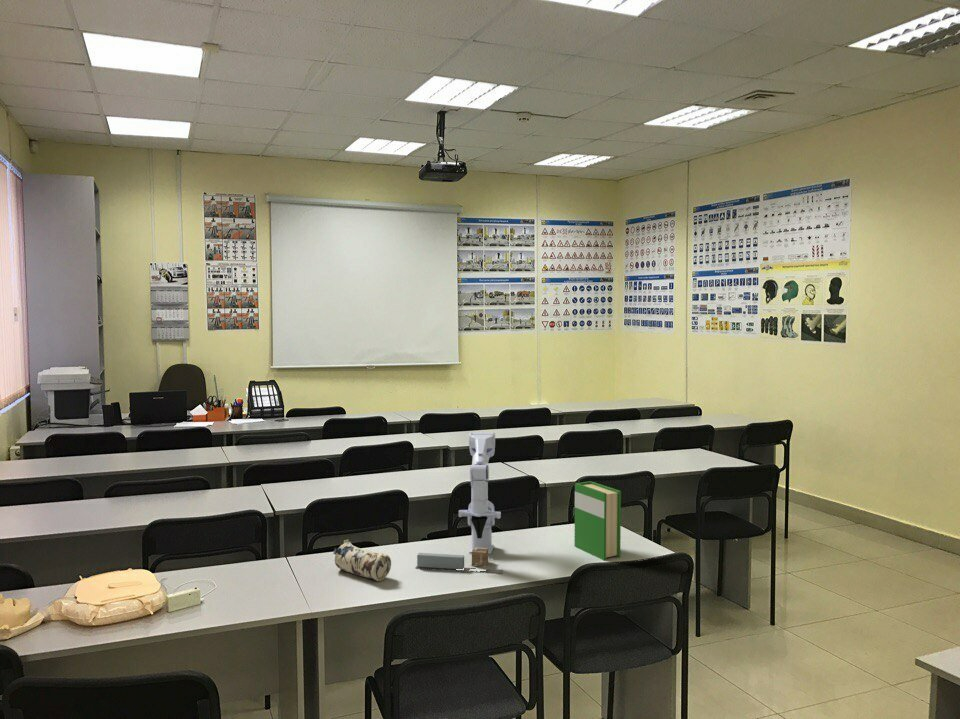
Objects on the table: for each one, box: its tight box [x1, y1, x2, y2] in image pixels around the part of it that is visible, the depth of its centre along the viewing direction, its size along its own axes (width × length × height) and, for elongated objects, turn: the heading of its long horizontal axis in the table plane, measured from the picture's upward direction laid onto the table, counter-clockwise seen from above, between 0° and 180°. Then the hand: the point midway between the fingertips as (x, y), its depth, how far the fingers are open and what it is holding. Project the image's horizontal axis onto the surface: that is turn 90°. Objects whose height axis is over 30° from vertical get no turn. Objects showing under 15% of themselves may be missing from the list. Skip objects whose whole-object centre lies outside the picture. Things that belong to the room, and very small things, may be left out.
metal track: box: [415, 565, 504, 575], centre depth 246 cm, size 3×30×1 cm, turn 80°
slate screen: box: [416, 552, 465, 569], centre depth 247 cm, size 2×16×4 cm, turn 80°
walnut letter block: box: [471, 547, 489, 567], centre depth 252 cm, size 5×5×5 cm
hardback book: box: [574, 480, 622, 561], centre depth 264 cm, size 18×7×24 cm, turn 28°
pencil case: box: [333, 539, 392, 582], centre depth 241 cm, size 22×8×10 cm, turn 51°
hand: (479, 537), depth 251 cm, fingers closed
